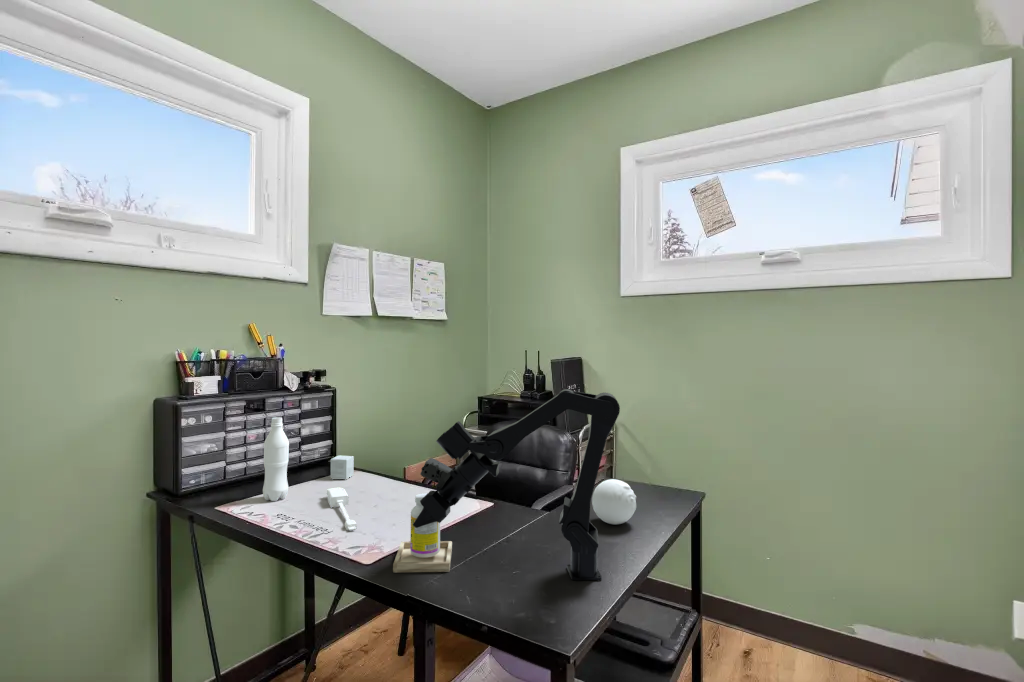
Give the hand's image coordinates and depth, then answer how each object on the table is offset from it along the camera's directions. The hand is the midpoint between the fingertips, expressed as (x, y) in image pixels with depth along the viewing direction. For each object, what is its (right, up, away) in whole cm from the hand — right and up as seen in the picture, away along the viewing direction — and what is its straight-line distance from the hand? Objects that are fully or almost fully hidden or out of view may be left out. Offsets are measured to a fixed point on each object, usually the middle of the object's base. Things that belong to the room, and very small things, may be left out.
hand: (419, 520), depth 114 cm
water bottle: (-52, -8, +41) cm, 67 cm away
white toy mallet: (-28, -9, +31) cm, 43 cm away
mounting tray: (+1, -9, 0) cm, 9 cm away
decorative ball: (+49, -10, +25) cm, 56 cm away
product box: (-40, -8, +66) cm, 78 cm away
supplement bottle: (+1, -7, 0) cm, 8 cm away
